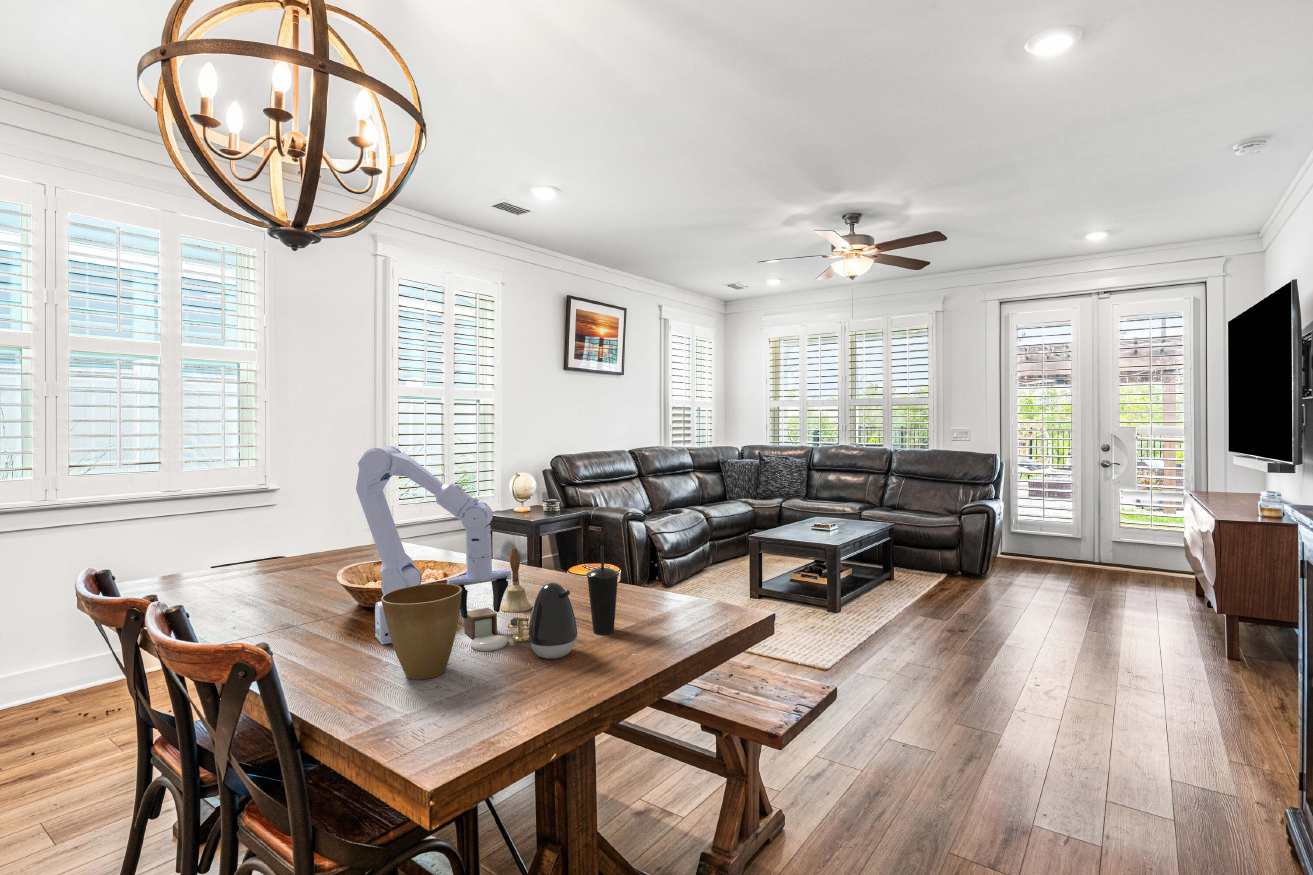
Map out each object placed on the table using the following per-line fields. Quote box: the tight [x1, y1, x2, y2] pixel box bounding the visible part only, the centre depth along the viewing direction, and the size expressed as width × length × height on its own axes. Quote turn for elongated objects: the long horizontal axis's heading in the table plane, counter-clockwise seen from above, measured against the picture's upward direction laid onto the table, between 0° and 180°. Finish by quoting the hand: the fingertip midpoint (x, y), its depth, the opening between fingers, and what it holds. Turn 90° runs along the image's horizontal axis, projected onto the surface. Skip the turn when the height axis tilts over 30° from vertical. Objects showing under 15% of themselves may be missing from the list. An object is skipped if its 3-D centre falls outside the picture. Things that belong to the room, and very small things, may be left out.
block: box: [474, 617, 493, 638], centre depth 152 cm, size 4×4×4 cm
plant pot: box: [380, 583, 462, 681], centre depth 128 cm, size 15×15×16 cm
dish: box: [470, 634, 508, 652], centre depth 144 cm, size 8×8×1 cm
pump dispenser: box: [527, 582, 578, 660], centre depth 137 cm, size 10×10×15 cm
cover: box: [463, 607, 498, 641], centre depth 152 cm, size 6×6×5 cm
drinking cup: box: [585, 545, 620, 636], centre depth 152 cm, size 8×8×20 cm
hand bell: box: [500, 547, 533, 614], centre depth 173 cm, size 8×8×16 cm
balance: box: [507, 616, 530, 644], centre depth 147 cm, size 4×11×6 cm, turn 34°
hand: (480, 614), depth 152 cm, fingers open, 7 cm apart
